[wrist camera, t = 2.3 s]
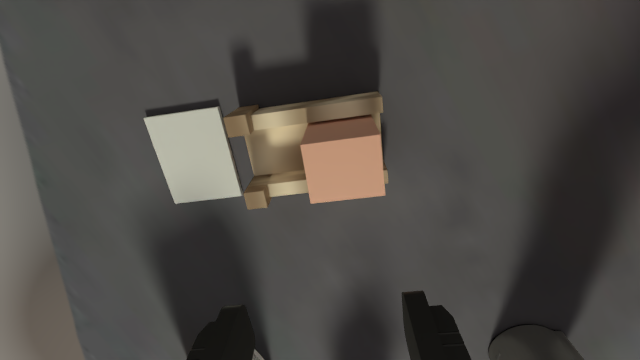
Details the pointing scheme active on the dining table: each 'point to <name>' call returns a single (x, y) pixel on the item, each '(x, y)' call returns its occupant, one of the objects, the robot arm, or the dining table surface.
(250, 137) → the chute
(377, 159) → the block
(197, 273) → the dining table surface
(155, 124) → the felt mat
